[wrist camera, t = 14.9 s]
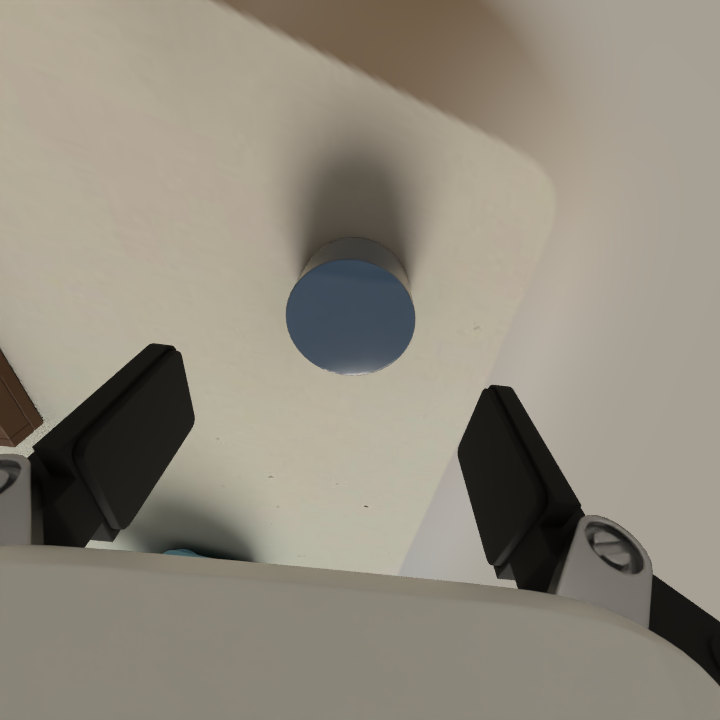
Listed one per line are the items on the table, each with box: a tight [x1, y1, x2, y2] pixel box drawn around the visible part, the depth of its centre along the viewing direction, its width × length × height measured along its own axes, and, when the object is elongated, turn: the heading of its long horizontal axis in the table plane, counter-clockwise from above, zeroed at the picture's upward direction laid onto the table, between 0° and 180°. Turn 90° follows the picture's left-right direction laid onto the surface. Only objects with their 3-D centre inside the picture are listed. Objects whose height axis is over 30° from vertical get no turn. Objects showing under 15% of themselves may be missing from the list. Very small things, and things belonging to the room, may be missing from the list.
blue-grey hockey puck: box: [286, 237, 415, 376], centre depth 15 cm, size 6×6×4 cm
